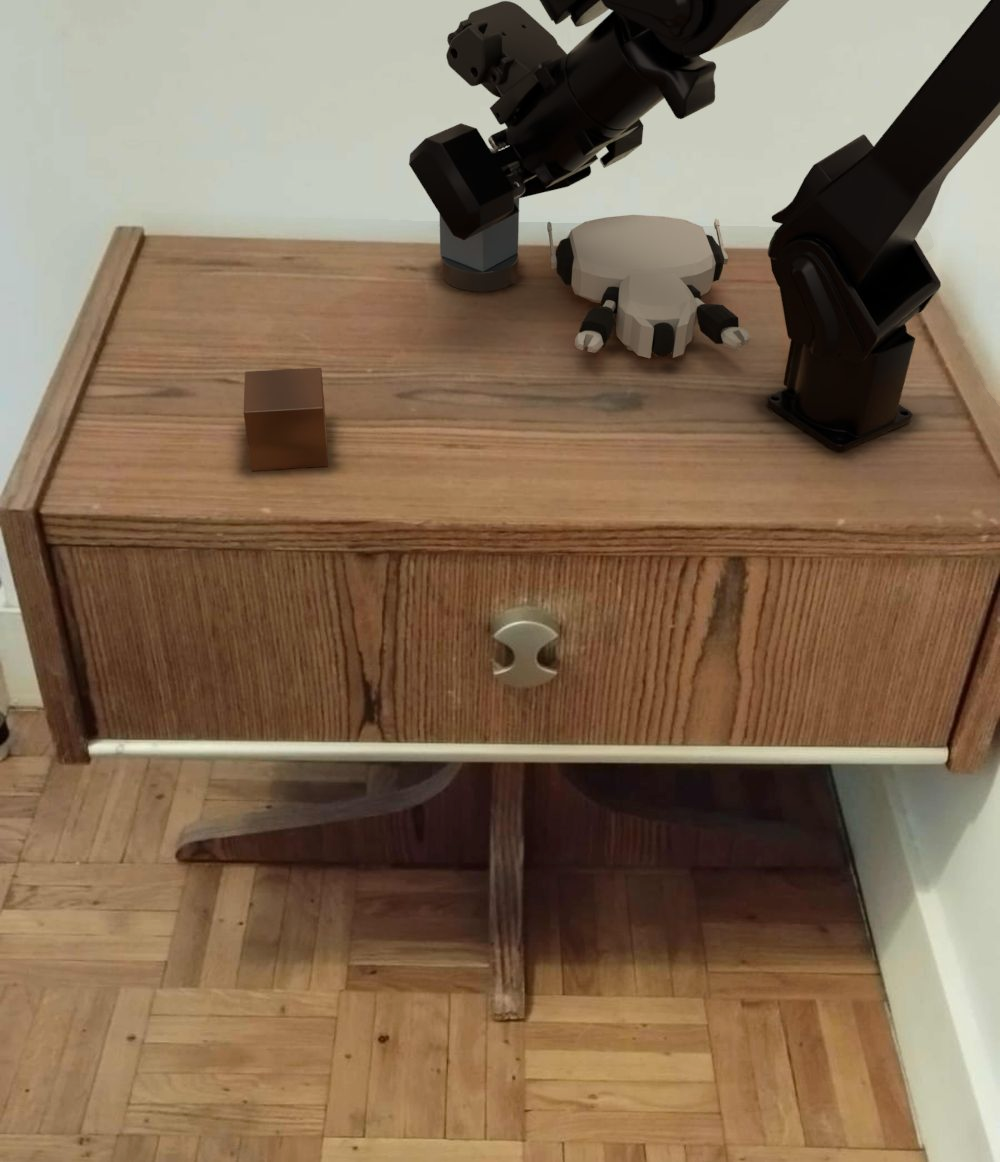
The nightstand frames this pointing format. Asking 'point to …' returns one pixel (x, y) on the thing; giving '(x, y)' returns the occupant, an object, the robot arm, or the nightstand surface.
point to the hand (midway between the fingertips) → (464, 208)
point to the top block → (482, 243)
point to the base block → (285, 419)
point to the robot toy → (646, 283)
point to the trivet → (480, 275)
